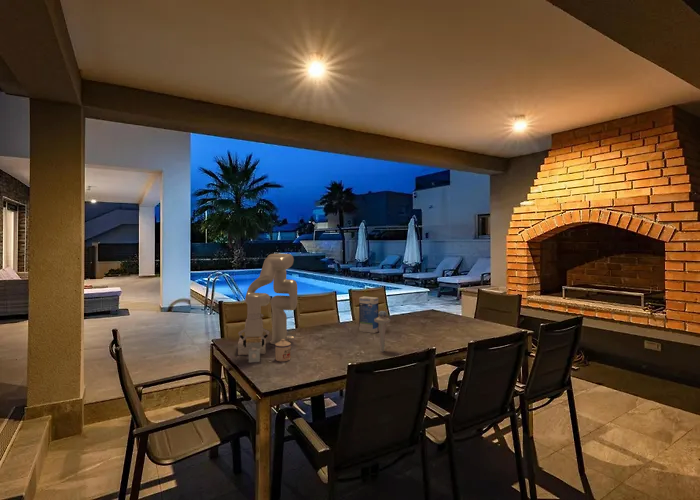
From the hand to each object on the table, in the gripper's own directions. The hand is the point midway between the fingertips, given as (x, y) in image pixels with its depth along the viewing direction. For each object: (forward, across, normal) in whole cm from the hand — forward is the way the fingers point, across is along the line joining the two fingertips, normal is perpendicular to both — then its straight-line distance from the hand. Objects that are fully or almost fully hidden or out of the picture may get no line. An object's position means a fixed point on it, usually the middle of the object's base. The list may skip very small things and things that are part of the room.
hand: (253, 346), depth 217 cm
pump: (+8, 0, 0) cm, 8 cm away
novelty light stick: (+7, -77, -4) cm, 78 cm away
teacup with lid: (+8, -17, -1) cm, 19 cm away
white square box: (+8, +2, -21) cm, 22 cm away
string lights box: (+6, -82, -56) cm, 100 cm away
